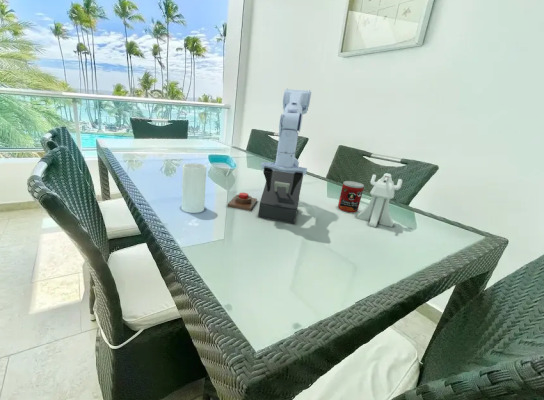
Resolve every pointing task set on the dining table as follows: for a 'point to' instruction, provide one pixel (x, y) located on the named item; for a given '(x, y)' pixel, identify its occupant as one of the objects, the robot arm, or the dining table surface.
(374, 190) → the white mech figurine
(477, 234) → the dining table surface
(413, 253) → the dining table surface
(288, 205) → the lid
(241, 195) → the button
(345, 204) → the canned food
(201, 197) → the cup
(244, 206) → the control block
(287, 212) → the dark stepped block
